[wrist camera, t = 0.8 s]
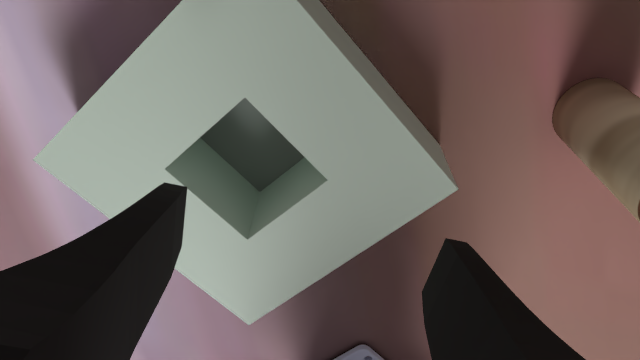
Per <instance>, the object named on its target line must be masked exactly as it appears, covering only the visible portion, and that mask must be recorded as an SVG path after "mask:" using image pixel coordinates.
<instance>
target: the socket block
mask: <svg viewBox="0 0 640 360" xmlns="http://www.w3.org/2000/svg"><path fill="white" fill-rule="evenodd" d="M33 161H35V162H36V163H37V164H39V165H40V166H41V167H43V168H44V169H45V170H47V171H48V172H49V173H50V174H52V175H53V176H54V177H56V178H57V179H58V180H60V181H61V182H62V183H64V184H65V185H66V186H67V187H69V188H70V189H71V190H73V191H74V192H75V193H77V194H78V195H79V196H81V197H82V198H83V199H84V200H86V201H87V202H88V203H90V204H91V205H92V206H94V207H95V208H96V209H98V210H99V211H100V212H101V213H103V214H104V215H105V216H107V217H108V218H109V219H111V218H113V217H114V216H116V215H117V214H119V213H120V212H122V211H123V210H125V209H127V208H128V207H130V206H131V205H132V204H134V203H135V202H137V201H138V200H140V199H141V198H142V197H144V196H145V195H147V194H148V193H149V192H151V191H152V190H154V189H155V188H157V187H158V186H159V185H161V184H163V183H164V182H165V183H170V184H175V185H180V186H185V187H187V196H186V207H185V218H184V229H183V240H182V248H181V250H180V253H179V256H178V259H177V262H176V265H175V267H174V268H175V269H176V270H177V271H179V272H180V273H181V274H183V275H184V276H185V277H186V278H188V279H189V280H190V281H192V282H193V283H194V284H196V285H197V286H198V287H200V288H201V289H202V290H203V291H205V292H206V293H207V294H209V295H210V296H211V297H213V298H214V299H215V300H217V301H218V302H219V303H221V304H222V305H223V306H224V307H226V308H227V309H228V310H230V311H231V312H232V313H234V314H235V315H236V316H238V317H239V318H240V319H241V320H243V321H244V322H245V323H247V324H248V325H250V324H252V323H253V322H255V321H256V320H258V319H259V318H261V317H262V316H264V315H265V314H267V313H269V312H270V311H272V310H273V309H275V308H276V307H278V306H279V305H281V304H282V303H284V302H286V301H287V300H289V299H290V298H292V297H293V296H295V295H296V294H298V293H299V292H301V291H302V290H304V289H306V288H307V287H309V286H310V285H312V284H313V283H315V282H316V281H318V280H319V279H321V278H323V277H324V276H326V275H327V274H329V273H330V272H332V271H333V270H335V269H336V268H338V267H340V266H341V265H343V264H344V263H346V262H347V261H349V260H350V259H352V258H353V257H355V256H356V255H358V254H360V253H361V252H363V251H364V250H366V249H367V248H369V247H370V246H372V245H373V244H375V243H377V242H378V241H380V240H381V239H383V238H384V237H386V236H387V235H389V234H390V233H392V232H394V231H395V230H397V229H398V228H400V227H401V226H403V225H404V224H406V223H407V222H409V221H410V220H412V219H414V218H415V217H417V216H418V215H420V214H421V213H423V212H424V211H426V210H427V209H429V208H431V207H432V206H434V205H435V204H437V203H438V202H440V201H441V200H443V199H444V198H446V197H448V196H449V195H451V194H452V193H454V192H455V191H457V190H458V187H457V185H456V182H455V180H454V177H453V175H452V173H451V170H450V168H449V166H448V163H447V161H446V159H445V156H444V154H443V151H442V149H441V147H440V145H439V144H438V142H437V141H436V140H435V139H434V138H433V136H432V135H431V134H430V133H429V132H428V130H427V129H426V128H425V127H424V126H423V124H422V123H421V122H420V121H419V120H418V118H417V117H416V116H415V115H414V114H413V112H412V111H411V110H410V109H409V108H408V106H407V105H406V104H405V103H404V102H403V100H402V99H401V98H400V97H399V96H398V94H397V93H396V92H395V91H394V90H393V88H392V87H391V86H390V85H389V84H388V82H387V81H386V80H385V79H384V78H383V76H382V75H381V74H380V73H379V72H378V70H377V69H376V68H375V67H374V66H373V64H372V63H371V62H370V61H369V60H368V58H367V57H366V56H365V55H364V54H363V52H362V51H361V50H360V49H359V48H358V46H357V45H356V44H355V43H354V42H353V40H352V39H351V38H350V37H349V36H348V34H347V33H346V32H345V31H344V30H343V28H342V27H341V26H340V25H339V24H338V22H337V21H336V20H335V19H334V18H333V16H332V15H331V14H330V13H329V12H328V10H327V9H326V8H325V7H324V6H323V4H322V3H321V2H320V1H319V0H182V1H181V2H180V3H179V4H178V5H177V6H176V8H175V9H174V10H173V11H172V12H171V13H170V14H169V15H168V16H167V17H166V18H165V19H164V20H163V21H162V22H161V24H160V25H159V26H158V27H157V28H156V29H155V30H154V31H153V32H152V33H151V34H150V35H149V36H148V37H147V38H146V40H145V41H144V42H143V43H142V44H141V45H140V46H139V47H138V48H137V49H136V50H135V51H134V52H133V53H132V54H131V56H130V57H129V58H128V59H127V60H126V61H125V62H124V63H123V64H122V65H121V66H120V67H119V68H118V69H117V71H116V72H115V73H114V74H113V75H112V76H111V77H110V78H109V79H108V80H107V81H106V82H105V83H104V84H103V85H102V87H101V88H100V89H99V90H98V91H97V92H96V93H95V94H94V95H93V96H92V97H91V98H90V99H89V100H88V101H87V103H86V104H85V105H84V106H83V107H82V108H81V109H80V110H79V111H78V112H77V113H76V114H75V115H74V116H73V117H72V119H71V120H70V121H69V122H68V123H67V124H66V125H65V126H64V127H63V128H62V129H61V130H60V131H59V132H58V133H57V135H56V136H55V137H54V138H53V139H52V140H51V141H50V142H49V143H48V144H47V145H46V146H45V147H44V148H43V149H42V151H41V152H40V153H39V154H38V155H37V156H36V157H35V158H34V159H33Z"/></svg>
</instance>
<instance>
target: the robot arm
mask: <svg viewBox="0 0 640 360" xmlns="http://www.w3.org/2000/svg"><path fill="white" fill-rule="evenodd" d="M186 196H187V187H185V186H180V185H175V184H170V183H165V182H164V183H163V184H161V185H159V186H158V187H157V188H155V189H154V190H152V191H151V192H149V193H148V194H147V195H145V196H144V197H142V198H141V199H140V200H138V201H137V202H135V203H134V204H132V205H131V206H130V207H128V208H127V209H125V210H123V211H122V212H120V213H119V214H117V215H116V216H114V217H113V218H111V219H110V220H108V221H107V222H105V223H103V224H102V225H100V226H98V227H96V228H95V229H93V230H91V231H90V232H88V233H86V234H84V235H83V236H81V237H79V238H77V239H75V240H73V241H71V242H69V243H67V244H65V245H63V246H61V247H59V248H57V249H55V250H52V251H50V252H48V253H46V254H44V255H41V256H39V257H36V258H34V259H31V260H28V261H26V262H23V263H21V264H18V265H16V266H13V267H10V268H8V269H5V270H3V271H0V360H130V358H131V356H132V354H133V351H134V349H135V347H136V345H137V343H138V341H139V339H140V337H141V335H142V333H143V331H144V329H145V327H146V326H147V324H148V322H149V320H150V318H151V316H152V314H153V312H154V310H155V308H156V306H157V304H158V302H159V300H160V298H161V296H162V294H163V292H164V290H165V288H166V286H167V284H168V282H169V280H170V278H171V276H172V273H173V270H174V267H175V265H176V262H177V259H178V256H179V253H180V250H181V248H182V240H183V229H184V218H185V207H186ZM422 299H423V314H424V324H425V329H426V334H427V339H428V344H429V348H430V353H431V357H432V360H586V359H584V358H583V357H582V356H580V355H579V354H578V353H577V352H576V351H574V350H573V349H572V348H571V347H570V346H569V345H567V344H566V343H565V342H564V341H563V340H562V339H560V338H559V337H558V336H557V335H556V334H555V333H553V332H552V331H551V330H550V329H549V328H548V327H547V326H546V325H545V324H544V323H543V322H542V321H541V320H540V319H539V318H538V317H537V316H536V315H535V314H534V313H532V312H531V311H530V310H529V309H528V308H527V307H526V306H525V305H524V304H523V302H522V301H521V300H520V299H519V298H518V297H517V296H516V295H515V294H514V293H513V292H512V291H511V290H510V289H509V288H508V287H507V285H506V284H505V283H504V282H503V281H502V280H501V279H500V278H499V277H498V276H497V274H496V273H495V272H494V271H493V270H492V269H491V268H490V267H489V266H488V264H487V263H486V262H485V261H484V260H483V259H482V258H481V257H480V256H479V255H478V253H477V252H476V251H475V250H474V249H473V248H472V247H471V246H470V245H469V244H468V243H467V242H462V241H457V240H452V239H447V238H446V239H445V241H444V244H443V246H442V248H441V250H440V253H439V255H438V257H437V259H436V262H435V264H434V266H433V268H432V271H431V273H430V275H429V277H428V280H427V282H426V284H425V286H424V289H423V291H422ZM366 356H369V357H366ZM333 360H384V359H383V358H382V357H381V356H379V355H378V354H377V353H376V352H375V351H374V350H372V349H371V348H370V347H369V346H367V345H358V346H356V347H355V348H353V349H351V350H349V351H348V352H346V353H344V354H342V355H340V356H339V357H337V358H335V359H333Z"/></svg>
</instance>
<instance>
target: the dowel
mask: <svg viewBox="0 0 640 360" xmlns="http://www.w3.org/2000/svg"><path fill="white" fill-rule="evenodd" d="M552 123H553V127H554V130H555V132H556V133H557V135H558V136H559V137H560V138H561V139H562V140H563V141H564V142H565V143H566V144H567V146H568V147H569V148H570V149H571V150H572V151H573V152H574V153H575V154H576V155H577V156H578V157H579V158H580V159H581V160H582V162H583V163H584V164H585V165H586V166H587V167H588V168H589V169H590V170H591V171H592V172H593V173H594V174H595V175H596V176H597V177H598V179H599V180H600V181H601V182H602V183H603V184H604V185H605V186H606V187H607V188H608V189H609V190H610V191H611V192H612V193H613V195H614V196H615V197H616V198H617V199H618V200H619V201H620V202H621V203H622V204H623V205H624V206H625V207H626V208H627V209H628V210H629V212H630V213H631V214H632V215H633V216H634V217H635V218H636V219H637V220H638V221H639V222H640V98H639V97H638V96H636V95H635V94H633V93H632V92H630V91H629V90H627V89H626V88H624V87H623V86H621V85H619V84H618V83H616V82H615V81H613V80H610V79H606V78H593V79H588V80H585V81H582V82H580V83H578V84H576V85H574V86H573V87H571V88H570V89H569V90H568V91H566V92H565V93H564V94H563V96H562V97H561V98H560V99H559V101H558V102H557V104H556V106H555V109H554V112H553V117H552Z"/></svg>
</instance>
